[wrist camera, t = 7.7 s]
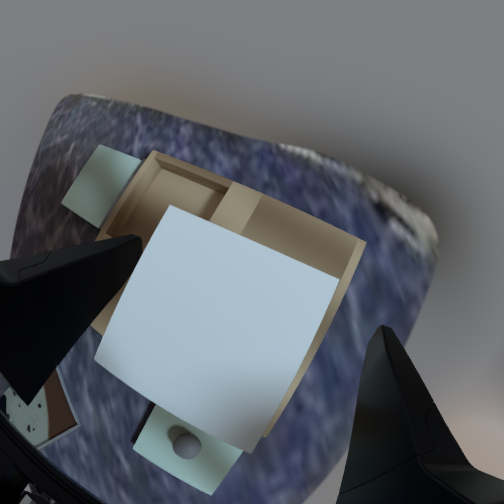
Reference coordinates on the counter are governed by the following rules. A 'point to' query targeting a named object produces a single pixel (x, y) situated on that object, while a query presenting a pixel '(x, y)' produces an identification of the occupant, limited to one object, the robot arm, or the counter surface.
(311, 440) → the counter surface
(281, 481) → the counter surface
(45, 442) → the food container
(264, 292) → the tall white block
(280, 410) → the puzzle board
